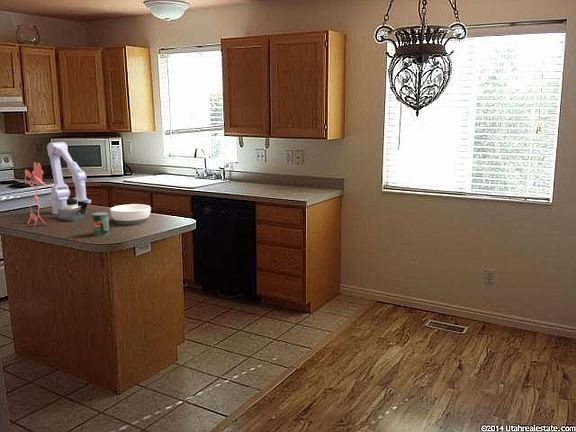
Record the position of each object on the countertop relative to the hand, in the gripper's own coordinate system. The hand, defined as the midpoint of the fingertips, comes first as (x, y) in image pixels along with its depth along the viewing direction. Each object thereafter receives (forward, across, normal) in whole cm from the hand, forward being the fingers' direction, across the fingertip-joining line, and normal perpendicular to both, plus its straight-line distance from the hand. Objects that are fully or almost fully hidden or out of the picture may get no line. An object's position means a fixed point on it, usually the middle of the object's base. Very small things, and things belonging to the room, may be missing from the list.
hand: (82, 214), depth 321 cm
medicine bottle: (+2, 0, +6) cm, 7 cm away
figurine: (+2, +6, +23) cm, 24 cm away
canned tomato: (+2, -45, +24) cm, 51 cm away
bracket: (+2, 0, +7) cm, 8 cm away
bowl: (+2, -36, -5) cm, 36 cm away
